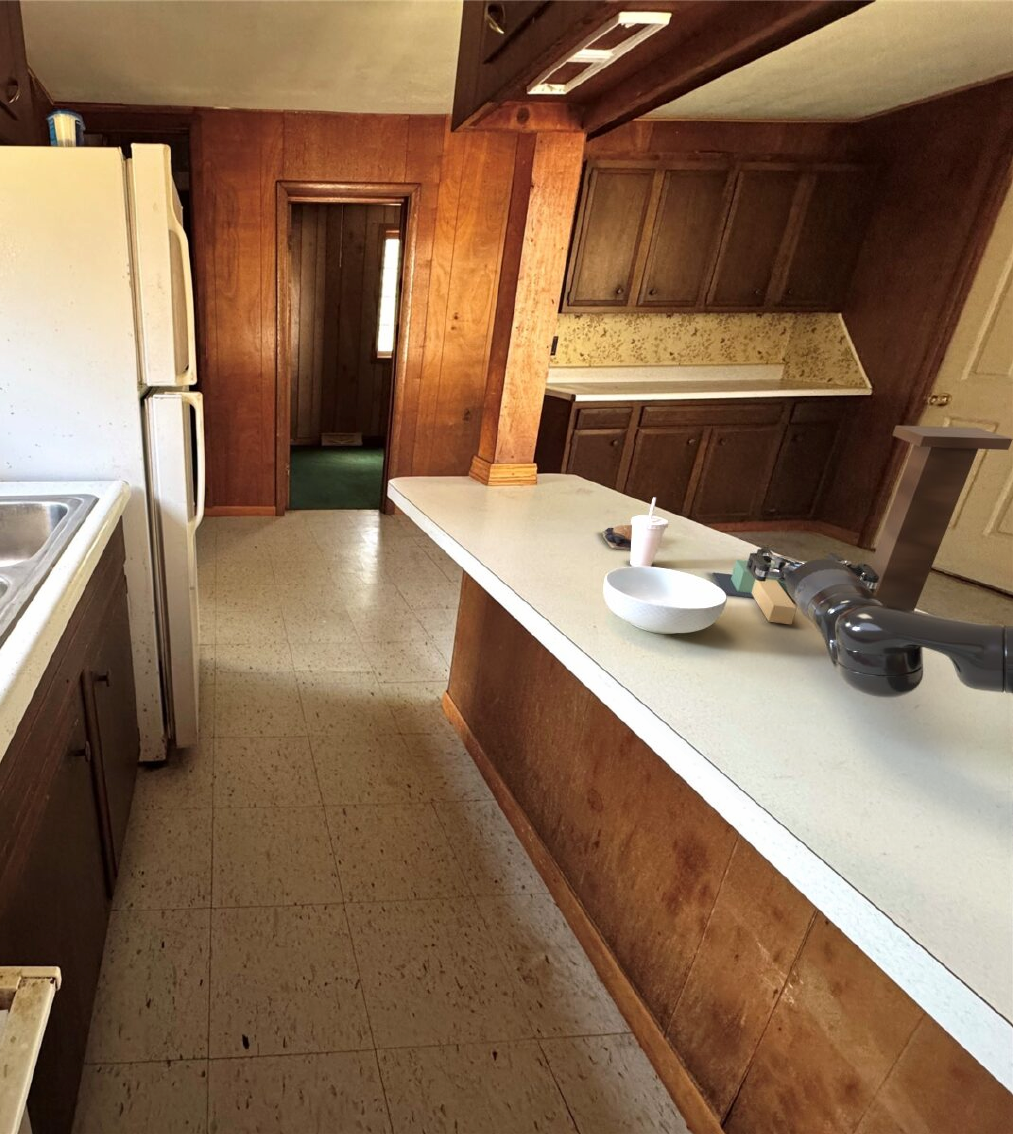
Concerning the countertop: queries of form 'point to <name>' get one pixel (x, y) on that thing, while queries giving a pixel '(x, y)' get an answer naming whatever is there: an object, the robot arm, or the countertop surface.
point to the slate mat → (732, 586)
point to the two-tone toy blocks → (765, 593)
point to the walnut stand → (925, 506)
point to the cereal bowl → (663, 599)
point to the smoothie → (646, 537)
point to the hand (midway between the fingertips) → (795, 555)
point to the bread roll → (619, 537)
